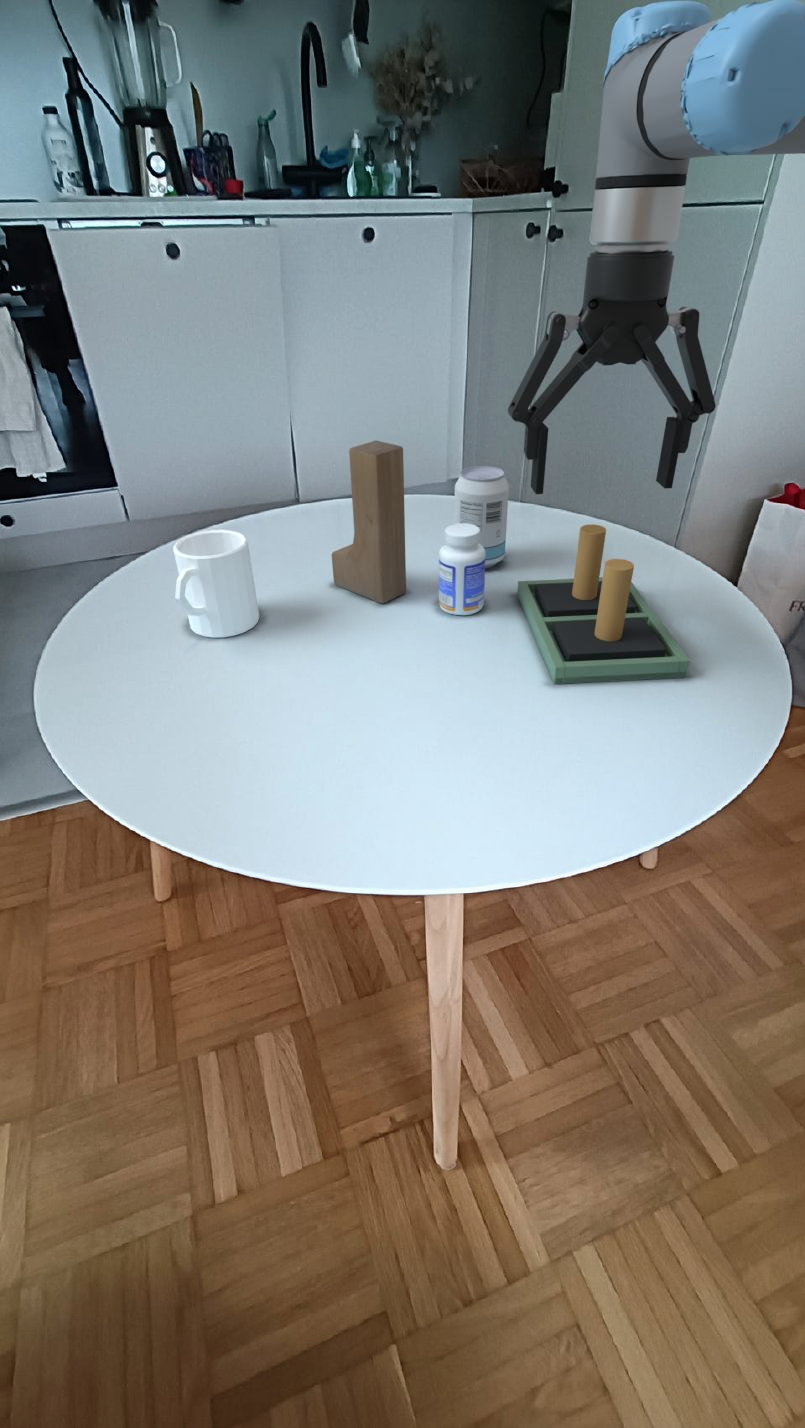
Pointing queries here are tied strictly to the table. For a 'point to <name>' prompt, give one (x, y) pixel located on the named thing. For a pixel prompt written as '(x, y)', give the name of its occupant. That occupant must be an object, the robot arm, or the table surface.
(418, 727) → the table surface
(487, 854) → the table surface
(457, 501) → the beverage can
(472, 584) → the pill bottle
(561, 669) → the pad holder
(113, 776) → the table surface
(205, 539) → the mug
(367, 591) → the wooden block
